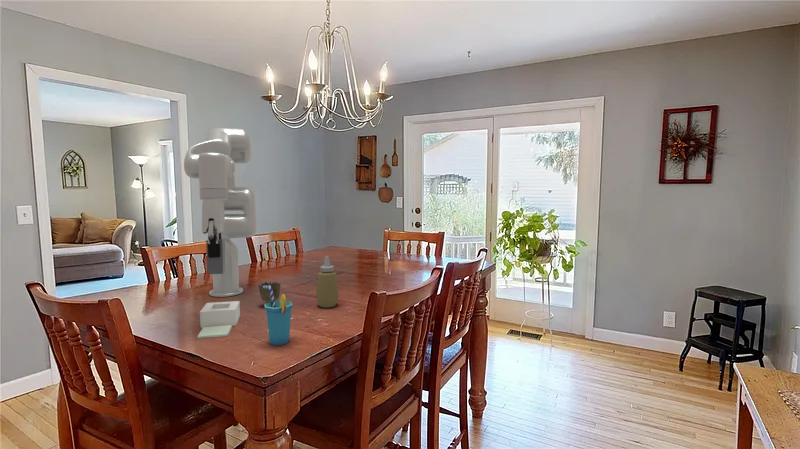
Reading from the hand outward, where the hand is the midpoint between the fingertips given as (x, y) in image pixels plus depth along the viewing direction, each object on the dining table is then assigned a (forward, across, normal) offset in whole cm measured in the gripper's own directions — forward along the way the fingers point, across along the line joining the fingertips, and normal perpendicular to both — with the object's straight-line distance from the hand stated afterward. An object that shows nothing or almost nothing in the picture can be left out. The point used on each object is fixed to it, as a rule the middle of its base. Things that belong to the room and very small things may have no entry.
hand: (215, 255), depth 124 cm
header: (+22, -5, 0) cm, 23 cm away
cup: (+23, +16, +18) cm, 33 cm away
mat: (+22, +5, 0) cm, 23 cm away
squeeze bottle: (+22, -15, +34) cm, 43 cm away
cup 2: (+22, -20, +14) cm, 33 cm away
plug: (+5, 0, 0) cm, 5 cm away
